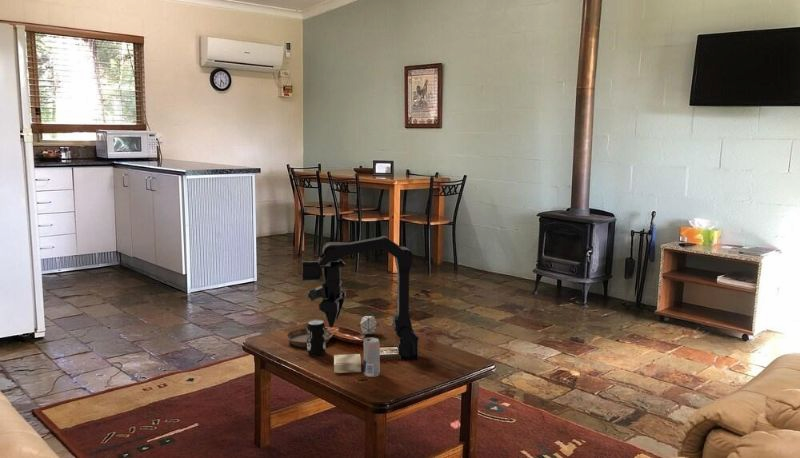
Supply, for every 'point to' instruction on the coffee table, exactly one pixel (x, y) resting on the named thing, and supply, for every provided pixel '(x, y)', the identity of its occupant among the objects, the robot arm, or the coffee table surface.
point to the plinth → (347, 363)
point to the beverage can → (316, 337)
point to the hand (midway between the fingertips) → (333, 322)
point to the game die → (368, 324)
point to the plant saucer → (303, 337)
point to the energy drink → (371, 357)
